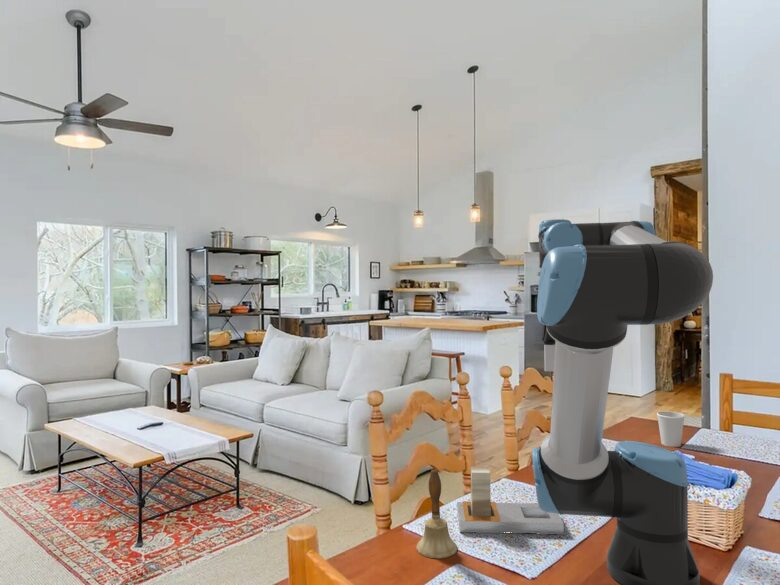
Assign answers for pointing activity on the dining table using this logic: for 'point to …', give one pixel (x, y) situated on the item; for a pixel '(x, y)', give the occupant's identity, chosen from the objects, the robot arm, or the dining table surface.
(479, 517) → the grey board
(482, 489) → the peg
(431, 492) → the hand bell
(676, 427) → the dixie cup
